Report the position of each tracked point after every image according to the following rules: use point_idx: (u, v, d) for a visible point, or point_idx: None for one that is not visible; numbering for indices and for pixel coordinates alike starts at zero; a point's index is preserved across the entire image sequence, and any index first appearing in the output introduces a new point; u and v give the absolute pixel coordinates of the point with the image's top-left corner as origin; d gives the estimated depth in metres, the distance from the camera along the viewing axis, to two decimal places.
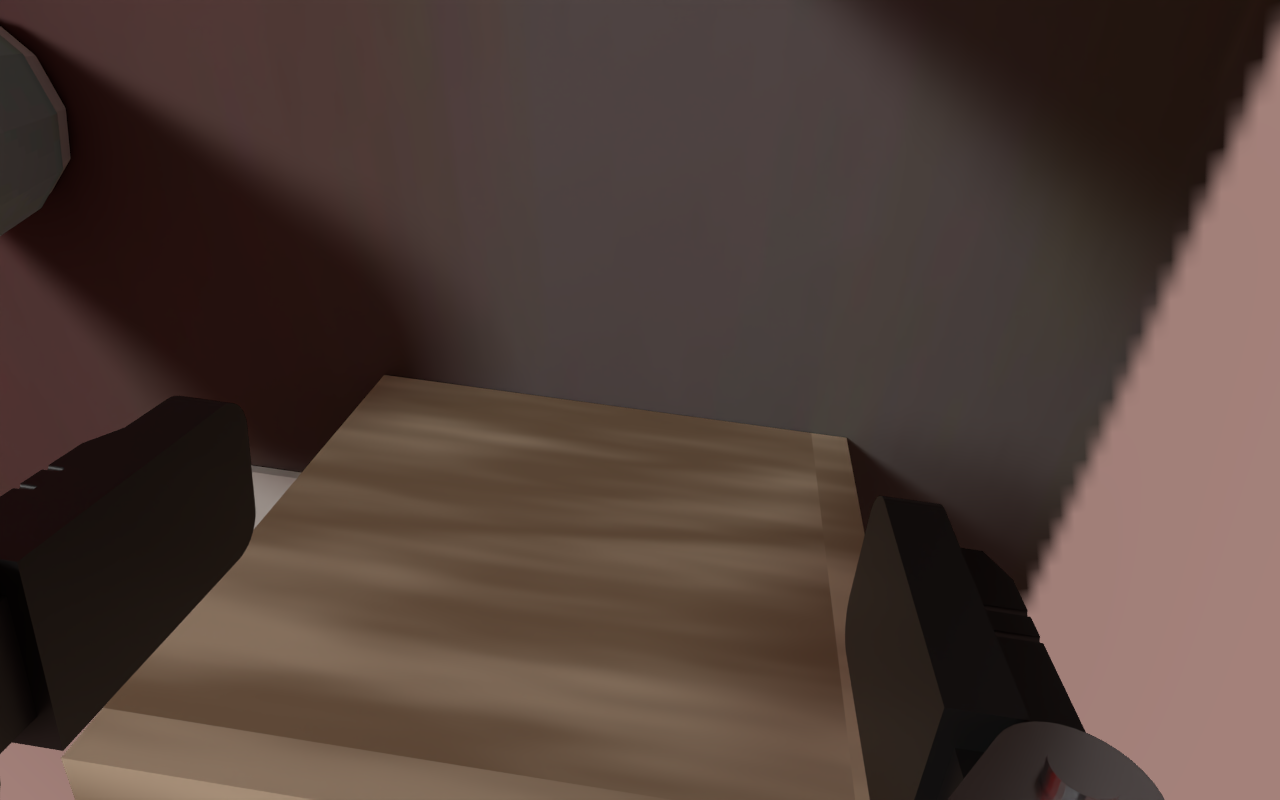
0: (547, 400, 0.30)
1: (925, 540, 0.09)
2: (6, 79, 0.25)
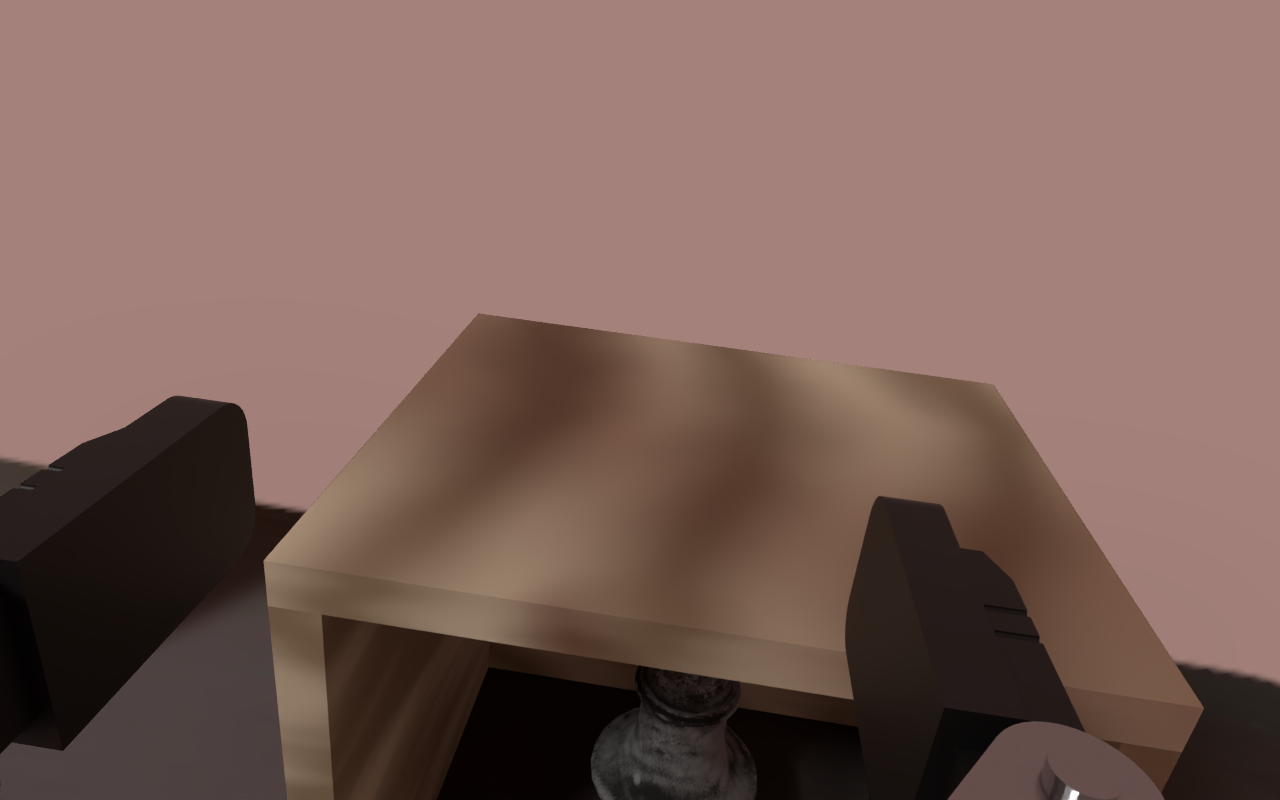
0: None
1: (925, 540, 0.09)
2: None
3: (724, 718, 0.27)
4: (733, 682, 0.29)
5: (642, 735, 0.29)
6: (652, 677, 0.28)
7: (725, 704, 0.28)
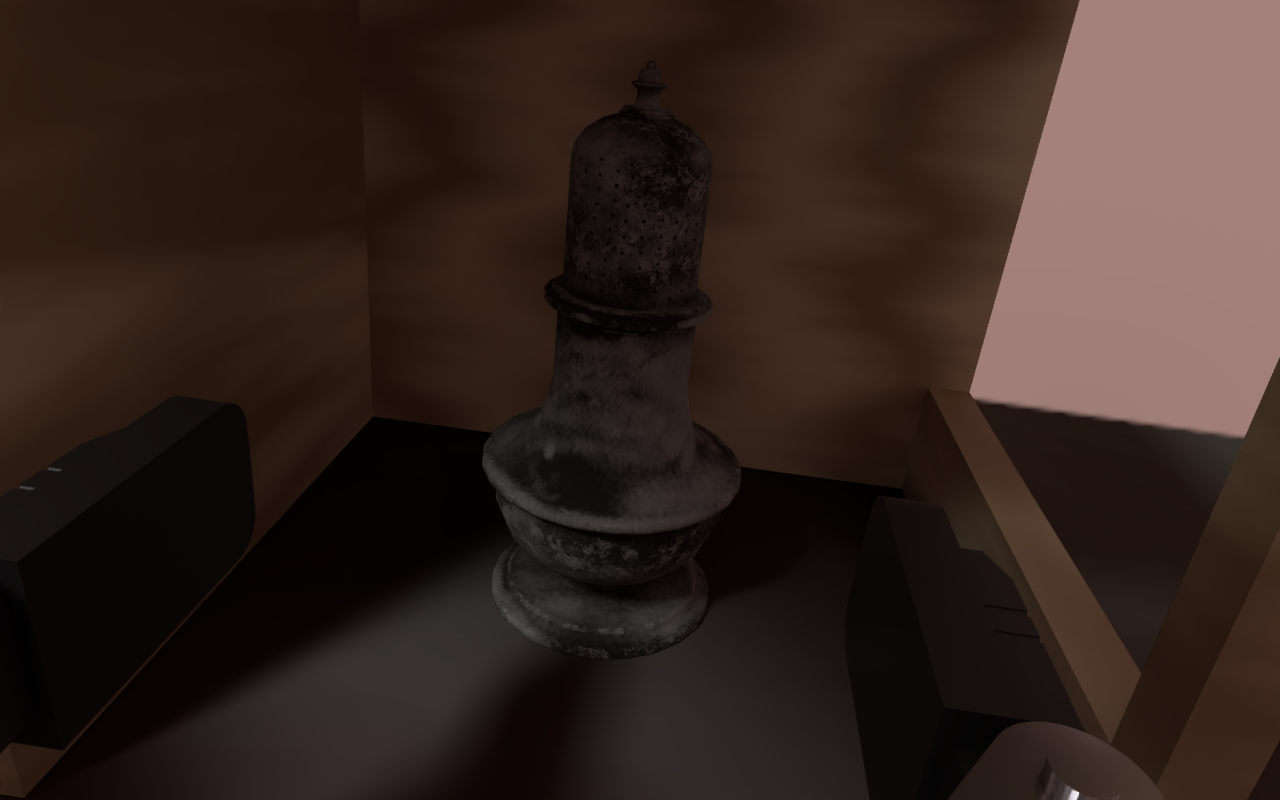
0: None
1: (925, 540, 0.09)
2: None
3: (684, 323, 0.17)
4: (700, 293, 0.18)
5: (557, 383, 0.18)
6: (568, 267, 0.17)
7: (686, 307, 0.17)
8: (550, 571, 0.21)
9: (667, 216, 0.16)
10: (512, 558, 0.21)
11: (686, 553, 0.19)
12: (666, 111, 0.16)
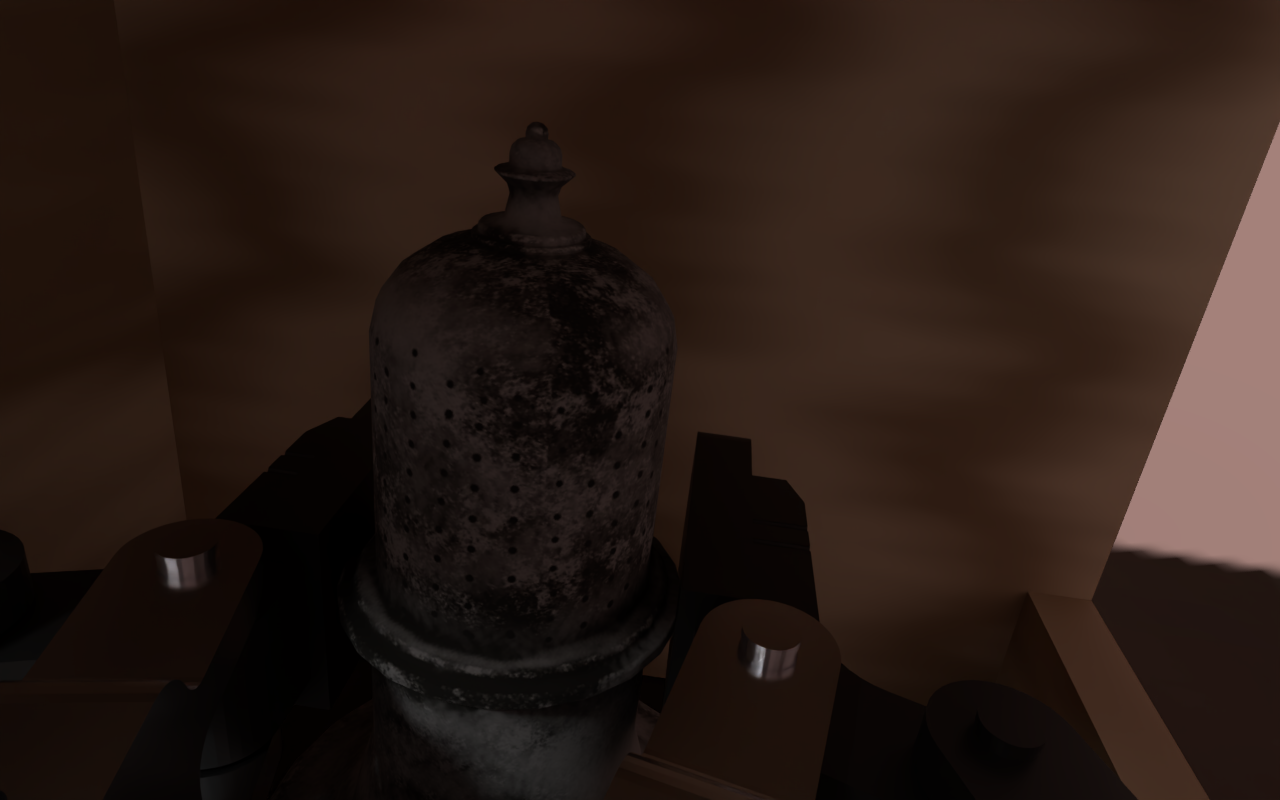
0: None
1: (722, 465, 0.10)
2: None
3: (615, 679, 0.08)
4: (657, 572, 0.09)
5: (376, 742, 0.09)
6: (376, 543, 0.08)
7: (622, 633, 0.08)
8: None
9: (571, 476, 0.07)
10: None
11: None
12: (572, 233, 0.07)
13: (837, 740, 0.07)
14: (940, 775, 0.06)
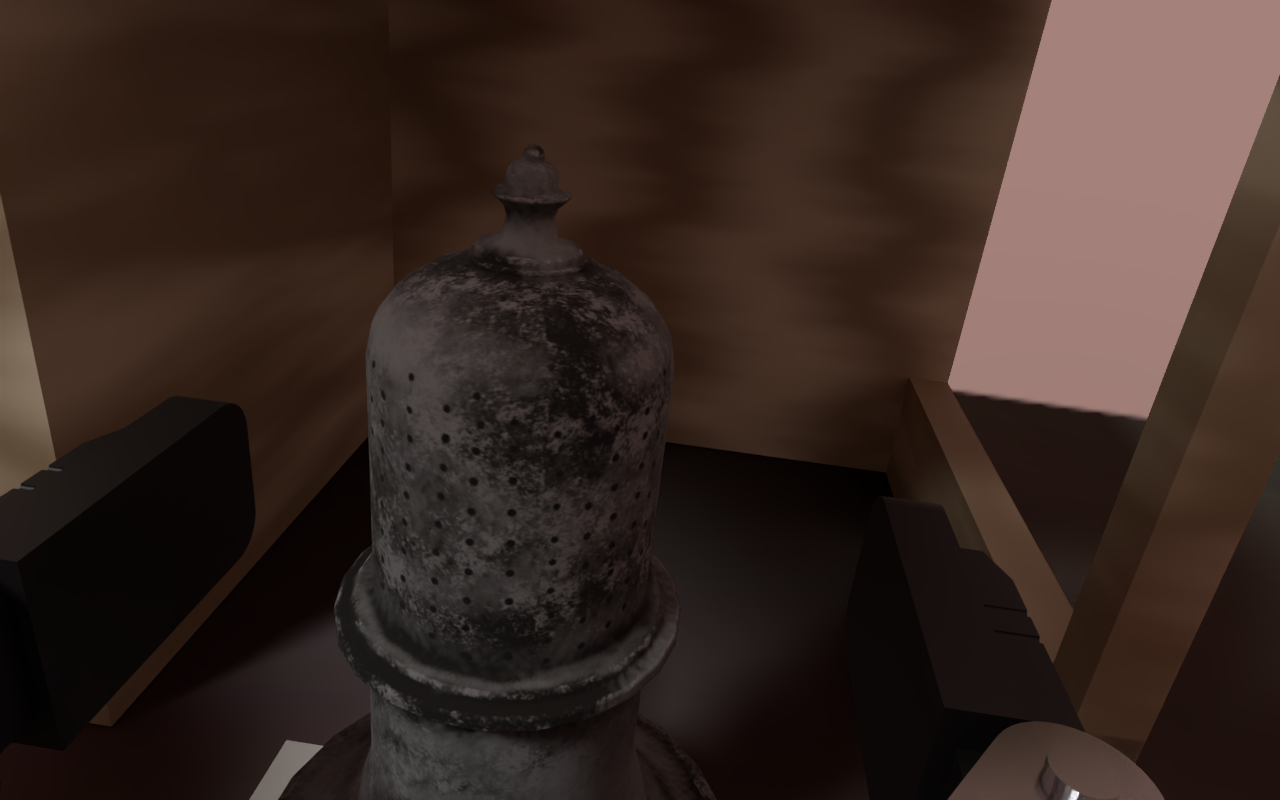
0: None
1: (925, 540, 0.09)
2: None
3: (613, 700, 0.08)
4: (655, 589, 0.09)
5: (374, 760, 0.09)
6: (375, 563, 0.08)
7: (620, 653, 0.08)
8: None
9: (568, 499, 0.07)
10: None
11: None
12: (569, 255, 0.07)
13: None
14: None
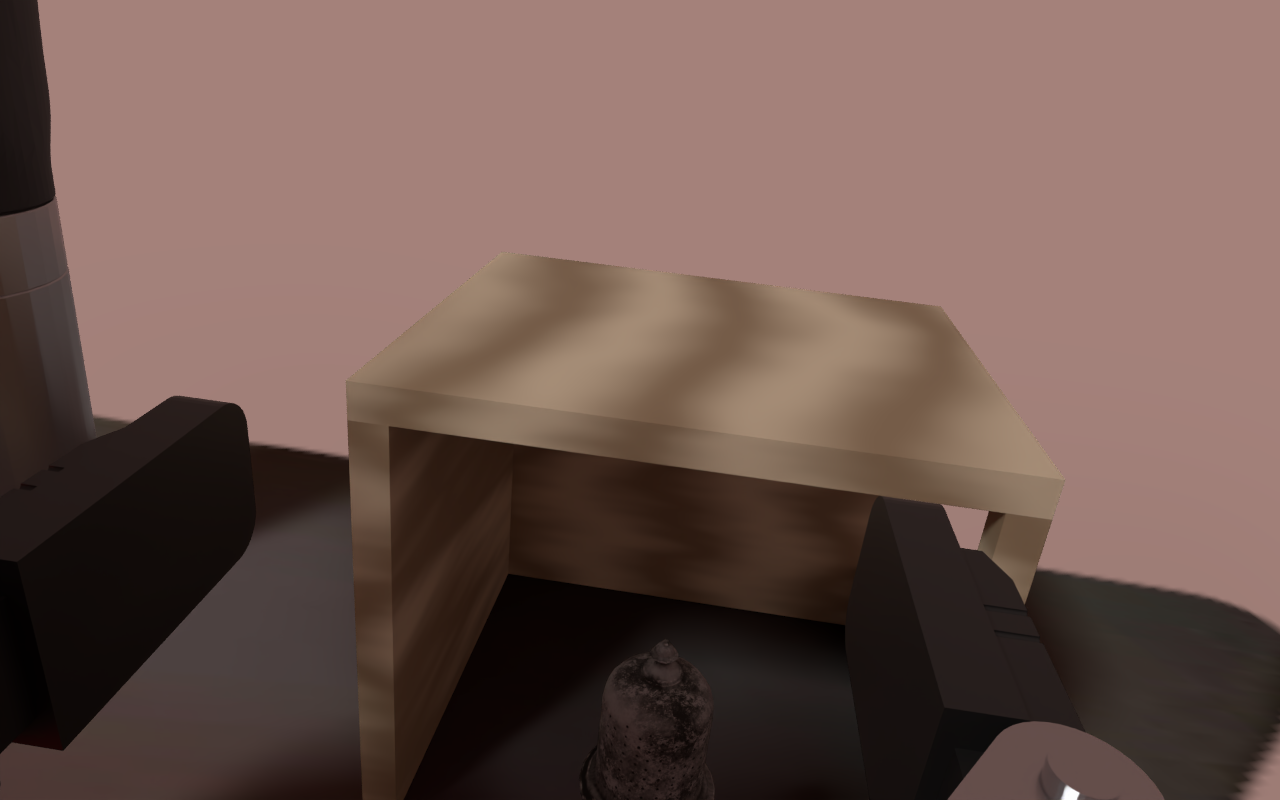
0: None
1: (925, 540, 0.09)
2: None
3: None
4: (704, 781, 0.23)
5: None
6: (599, 776, 0.22)
7: None
8: None
9: (678, 765, 0.21)
10: None
11: None
12: (677, 675, 0.21)
13: None
14: None
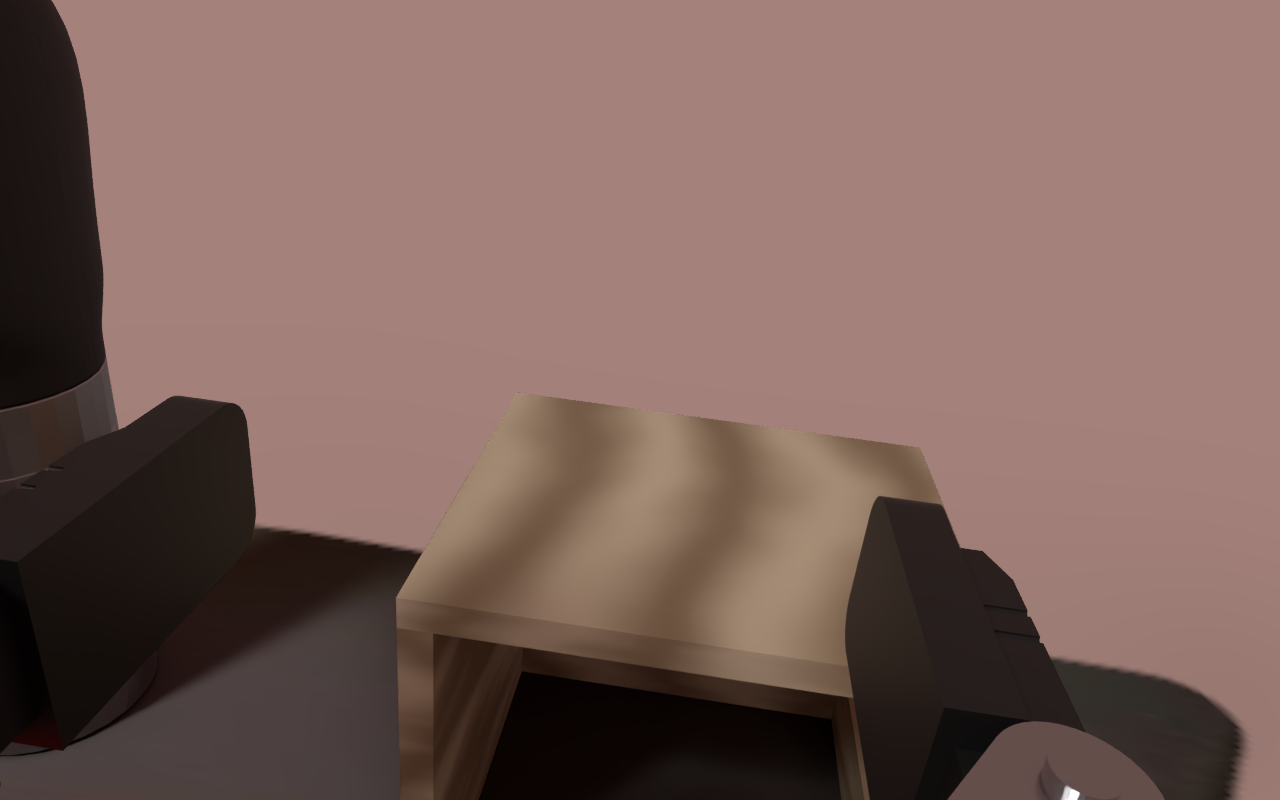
0: None
1: (925, 540, 0.09)
2: None
3: None
4: None
5: None
6: None
7: None
8: None
9: None
10: None
11: None
12: None
13: None
14: None
